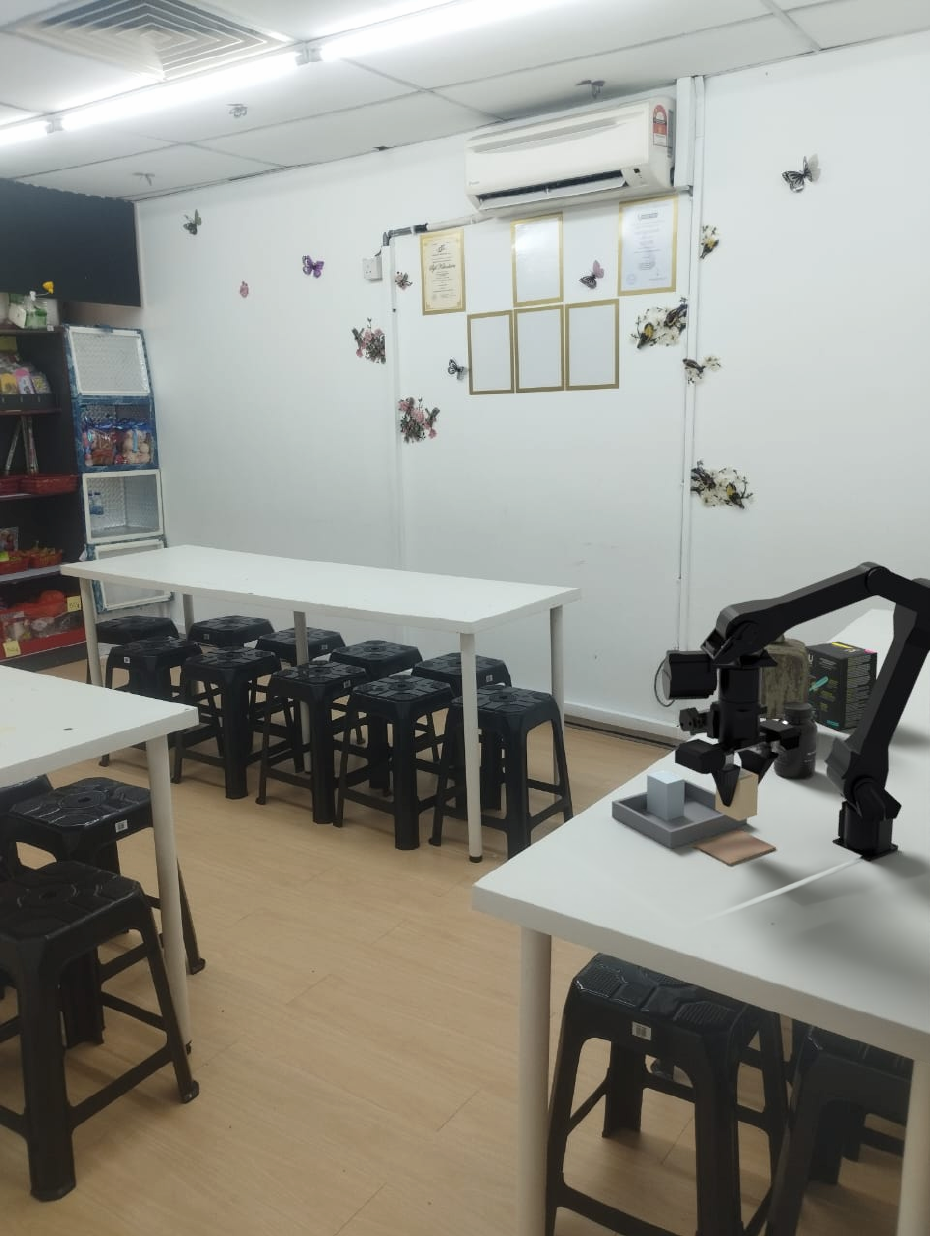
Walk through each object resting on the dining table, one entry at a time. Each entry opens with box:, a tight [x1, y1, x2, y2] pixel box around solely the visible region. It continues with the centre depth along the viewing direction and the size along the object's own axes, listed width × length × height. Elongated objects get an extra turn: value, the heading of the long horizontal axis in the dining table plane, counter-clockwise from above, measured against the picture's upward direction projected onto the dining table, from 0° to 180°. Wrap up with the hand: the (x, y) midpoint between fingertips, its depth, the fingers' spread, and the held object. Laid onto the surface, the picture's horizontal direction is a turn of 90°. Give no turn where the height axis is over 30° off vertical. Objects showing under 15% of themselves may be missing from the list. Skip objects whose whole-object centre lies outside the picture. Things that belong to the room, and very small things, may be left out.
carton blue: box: [646, 769, 685, 821], centre depth 150 cm, size 4×4×6 cm
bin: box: [611, 779, 748, 850], centre depth 148 cm, size 13×15×3 cm
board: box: [693, 829, 777, 867], centre depth 139 cm, size 7×9×1 cm
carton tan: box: [715, 768, 759, 821], centre depth 137 cm, size 4×4×6 cm
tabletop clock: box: [760, 633, 810, 720], centre depth 184 cm, size 14×9×25 cm, turn 72°
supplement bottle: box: [773, 702, 818, 780], centre depth 165 cm, size 7×7×12 cm
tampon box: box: [805, 641, 878, 731], centre depth 190 cm, size 11×9×15 cm
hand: (736, 802), depth 137 cm, fingers closed on carton tan, 3 cm apart
